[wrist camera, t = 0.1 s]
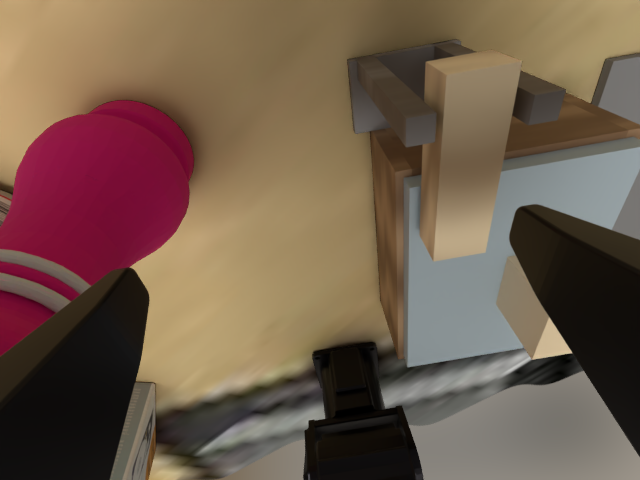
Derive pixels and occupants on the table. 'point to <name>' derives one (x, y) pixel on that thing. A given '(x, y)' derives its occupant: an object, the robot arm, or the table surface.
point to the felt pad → (630, 103)
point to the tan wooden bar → (465, 149)
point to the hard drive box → (137, 436)
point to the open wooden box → (420, 128)
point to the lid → (505, 256)
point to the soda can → (4, 205)
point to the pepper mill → (88, 208)
